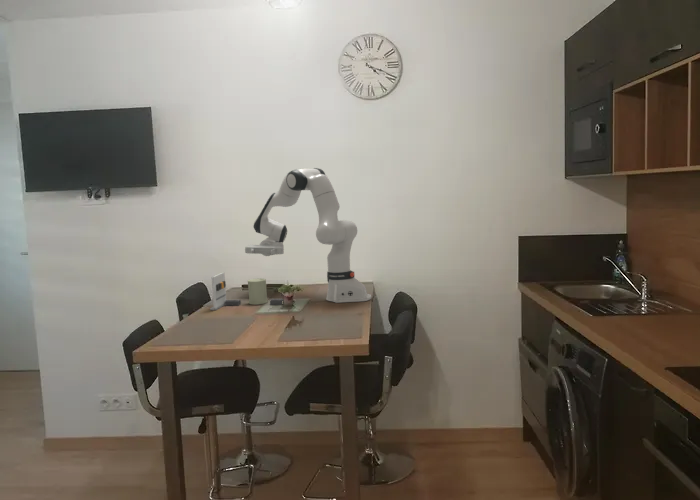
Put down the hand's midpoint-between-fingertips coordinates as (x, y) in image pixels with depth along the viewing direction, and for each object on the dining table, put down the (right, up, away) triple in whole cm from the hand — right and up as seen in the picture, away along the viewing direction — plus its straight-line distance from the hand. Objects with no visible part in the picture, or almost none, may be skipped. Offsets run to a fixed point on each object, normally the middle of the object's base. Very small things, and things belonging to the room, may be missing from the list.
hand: (261, 252), depth 301 cm
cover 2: (+10, -26, -15) cm, 31 cm away
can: (0, -25, -8) cm, 27 cm away
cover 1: (-12, -26, -11) cm, 31 cm away
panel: (-18, -27, -14) cm, 35 cm away
